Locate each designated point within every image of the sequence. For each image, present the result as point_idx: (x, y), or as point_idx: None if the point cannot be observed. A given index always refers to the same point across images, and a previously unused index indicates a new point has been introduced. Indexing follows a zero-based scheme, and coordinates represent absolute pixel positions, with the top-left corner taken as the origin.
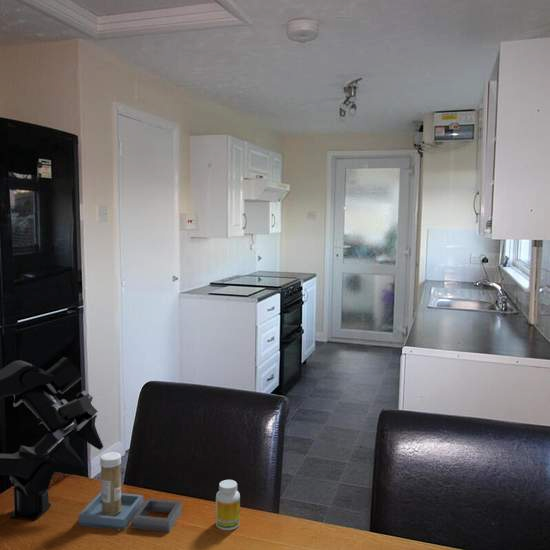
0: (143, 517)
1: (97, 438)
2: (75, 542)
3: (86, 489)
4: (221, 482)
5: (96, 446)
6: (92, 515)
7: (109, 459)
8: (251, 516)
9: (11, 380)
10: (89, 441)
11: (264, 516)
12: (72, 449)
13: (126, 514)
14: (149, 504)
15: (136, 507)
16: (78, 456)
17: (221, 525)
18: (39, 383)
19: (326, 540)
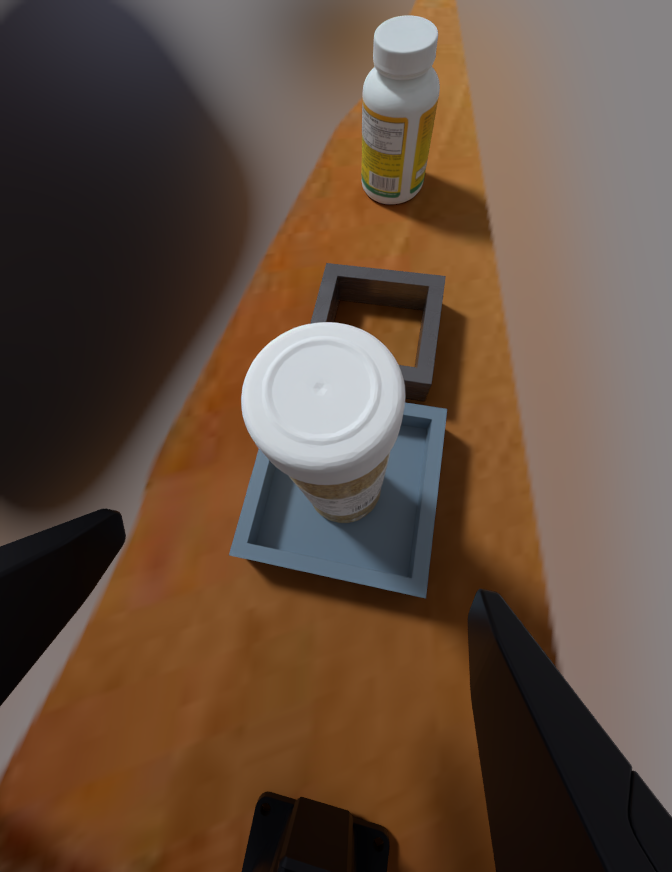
0: (428, 351)
1: (17, 565)
2: (525, 572)
3: (135, 653)
4: (397, 47)
5: (93, 574)
6: (425, 535)
7: (393, 378)
8: (354, 145)
9: None
10: (8, 674)
11: (355, 124)
12: (614, 832)
13: (411, 409)
14: None
15: None
16: (519, 667)
17: (422, 179)
18: None
19: (444, 36)
